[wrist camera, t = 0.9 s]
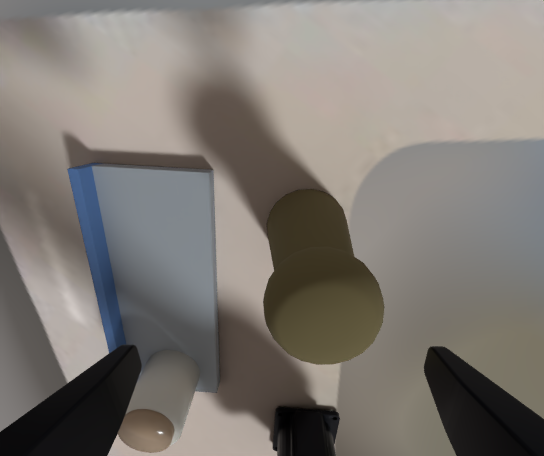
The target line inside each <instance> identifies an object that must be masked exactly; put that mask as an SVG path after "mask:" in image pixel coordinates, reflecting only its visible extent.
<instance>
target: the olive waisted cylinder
mask: <svg viewBox="0 0 544 456" xmlns="http://www.w3.org/2000/svg"><path fill="white" fill-rule="evenodd" d="M267 231H268V239H269V245H270V250H271V256H272V261H273V267H274V272H273V273H272V275H271V277H270V278H269V280H268V284H267V287H266V290H265V294H264V301H263V304H264V315H265V320H266V324H267V327H268V329H269V331H270V333H271V335H272V337H273V339H274V340H275V341H276V342H277V343H278V344H279V345H280V346H281V347H282V348H283V349H284V350H285V351H286V352H287V353H288V354H290V355H291V356H293V357H295V358H297V359H299V360H301V361H304V362H309V363H313V364H336V363H340V362H344V361H348V360H350V359H352V358H354V357H356V356H358V355H360V354H362V353H363V352H364V351H365V350H366V349H367V348H368V347H369V346H370V345H371V344H372V343H373V342H374V340H375V338H376V336H377V334H378V332H379V330H380V328H381V326H382V323H383V315H384V302H383V297H382V294H381V290H380V287H379V284H378V282H377V280H376V279H375V277H374V276H373V274H372V273H371V272H370V271H369V269H368V268H367V267H366V266H365V264H364V263H363V262H361V261H360V260H358V259H357V258H355V257H354V254H353V248H352V244H351V239H350V234H349V230H348V225H347V220H346V217H345V214H344V211H343V209H342V207H341V206H340V205H339V203H338V202H337V201H336V199H334V198H333V197H331V196H330V195H328V194H327V193H325V192H321V191H318V190H314V189H305V190H297V191H295V192H292V193H289V194H287V195H285V196H284V197H283V198H282V199H280V200H279V201H278V202H277V203H276V204H275V206H274V207H273V209H272V210H271V212H270V214H269V218H268V222H267Z"/></svg>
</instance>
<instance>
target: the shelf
mask: <svg viewBox="0 0 544 456" xmlns="http://www.w3.org/2000/svg"><path fill="white" fill-rule="evenodd" d="M68 174H69V178H70V182H71V187H72V191H73V195H74V200H75V204H76V209H77V213H78V217H79V222H80V226H81V231H82V235H83V239H84V244H85V248H86V253H87V257H88V261H89V266H90V270H91V275H92V279H93V283H94V288H95V292H96V297H97V301H98V305H99V310H100V314H101V318H102V323H103V327H104V332H105V336H106V340H107V345H108V349H109V353H111V352H112V351H113V350H115V349H116V348H118V347H119V346H121V345H124V344H133V345H136V347H137V349H138V352H139V356H140V359H141V363H142V368H141V372H142V370H143V368H144V366H145V365H146V363H147V361H148V359H149V358H150V357H151V356H152V355H153V354H154V353H156V352H159V351H163V350H174V351H179V352H182V353H184V354H186V355H188V356H190V357H191V358H192V359H193V360H194V361H195V362H196V363H197V365H198V366H199V369H200V378H199V381H198V384H197V387H196V390H195V391H199V392H212V393H217V391H218V387H219V383H220V370H219V338H218V305H217V272H216V239H215V207H214V174H213V170H208V169H191V168H173V167H156V166H139V165H121V164H104V163H90V164H86V165H82V166H77V167H73V168H69V169H68ZM141 372H140V373H141Z"/></svg>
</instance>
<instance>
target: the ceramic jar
mask: <svg viewBox="0 0 544 456" xmlns="http://www.w3.org/2000/svg"><path fill="white" fill-rule="evenodd" d="M199 378H200V369H199V366H198V365H197V363H196V362H195V361H194V360H193V359H192V358H191V357H190V356H188V355H186V354H184V353H182V352H179V351H174V350H163V351H159V352H156V353H154V354H153V355H152V356H151V357H150V358H149V359H148V361H147V363H146V365H145V366H144V368H143V370H142V372H141V373H140V375H139V378H138V381H137V384H136V386H135V389H134V392H133V395H132V398H131V400H130V403H129V406H128V409H127V411H126V414H125V417H124V419H123V422H122V425H121V427H120V429H119V431H118V435H119V437H120V439H121V440H122V441H123V442H124V443H125V444H126V445H128V446H129V447H131V448H133V449H135V450H138V451H142V452H149V453H154V452H160V451H163V450H165V449H166V448H168V447H169V446H170V445H172V444H174V443H175V442H177V441H178V439H179V438H180V436H181V433H182V430H183V427H184V424H185V421H186V418H187V415H188V412H189V409H190V406H191V402H192V399H193V396H194V393H195V390H196V387H197V384H198V381H199Z"/></svg>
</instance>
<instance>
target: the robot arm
mask: <svg viewBox="0 0 544 456" xmlns="http://www.w3.org/2000/svg"><path fill="white" fill-rule="evenodd" d="M141 368H142V363H141V359H140V356H139V352H138V349H137V347H136V345H133V344H124V345H121V346H119V347H118V348H116V349H115V350H113V351H112V352H111V353H109V354H108V355H106V356H105V357H104V358H102V359H101V360H100V361H98V362H97V363H95V364H94V365H93V366H91V367H90V368H88V369H87V370H86V371H84V372H83V373H81V374H80V375H79V376H77V377H76V378H75V379H73V380H72V381H70V382H69V383H68V384H66V385H65V386H63V387H62V388H61V389H59V390H58V391H56V392H55V393H54V394H52V395H51V396H50V397H48V398H47V399H45V400H44V401H43V402H41V403H40V404H38V405H37V406H36V407H34V408H33V409H32V410H30V411H29V412H27V413H26V414H25V415H23V416H22V417H20V418H19V419H18V420H16V421H15V422H13V423H12V424H11V425H9V426H8V427H6V428H5V429H4V430H2V431H1V432H0V456H107V455H108V453H109V451H110V449H111V447H112V444H113V442H114V440H115V438H116V436H117V434H118V431H119V429H120V427H121V425H122V422H123V419H124V417H125V414H126V411H127V409H128V406H129V403H130V400H131V398H132V395H133V392H134V389H135V386H136V384H137V381H138V378H139V375H140V372H141ZM424 373H425V376H426V379H427V382H428V384H429V387H430V390H431V393H432V396H433V398H434V401H435V404H436V407H437V410H438V412H439V415H440V418H441V420H442V423H443V426H444V428H445V431H446V433H447V436H448V438H449V440H450V442H451V444H452V446H453V449H454V451H455V453H456V455H457V456H544V419H543V418H542V417H540V416H539V415H537V414H536V413H535V412H533V411H532V410H531V409H529V408H528V407H526V406H525V405H524V404H522V403H521V402H520V401H518V400H517V399H516V398H514V397H513V396H511V395H510V394H509V393H507V392H506V391H505V390H503V389H502V388H500V387H499V386H498V385H496V384H495V383H494V382H492V381H491V380H490V379H488V378H487V377H485V376H484V375H483V374H481V373H480V372H479V371H477V370H476V369H475V368H473V367H472V366H470V365H469V364H468V363H466V362H465V361H464V360H462V359H461V358H460V357H458V356H457V355H455V354H454V353H453V352H451V351H450V350H449V349H447V348H445V347H438V346H435V347H434V346H433V347H430V348H429V349H428V352H427V356H426V360H425V364H424ZM339 419H340V418H339V413H338V412H335V411H323V410H310V409H297V408H284V407H278V408H277V409H276V411H275V424H274V436H273V450H275V451H277V456H336V454H335V448H334V443H335V439H336V434H337V429H338V424H339Z"/></svg>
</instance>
